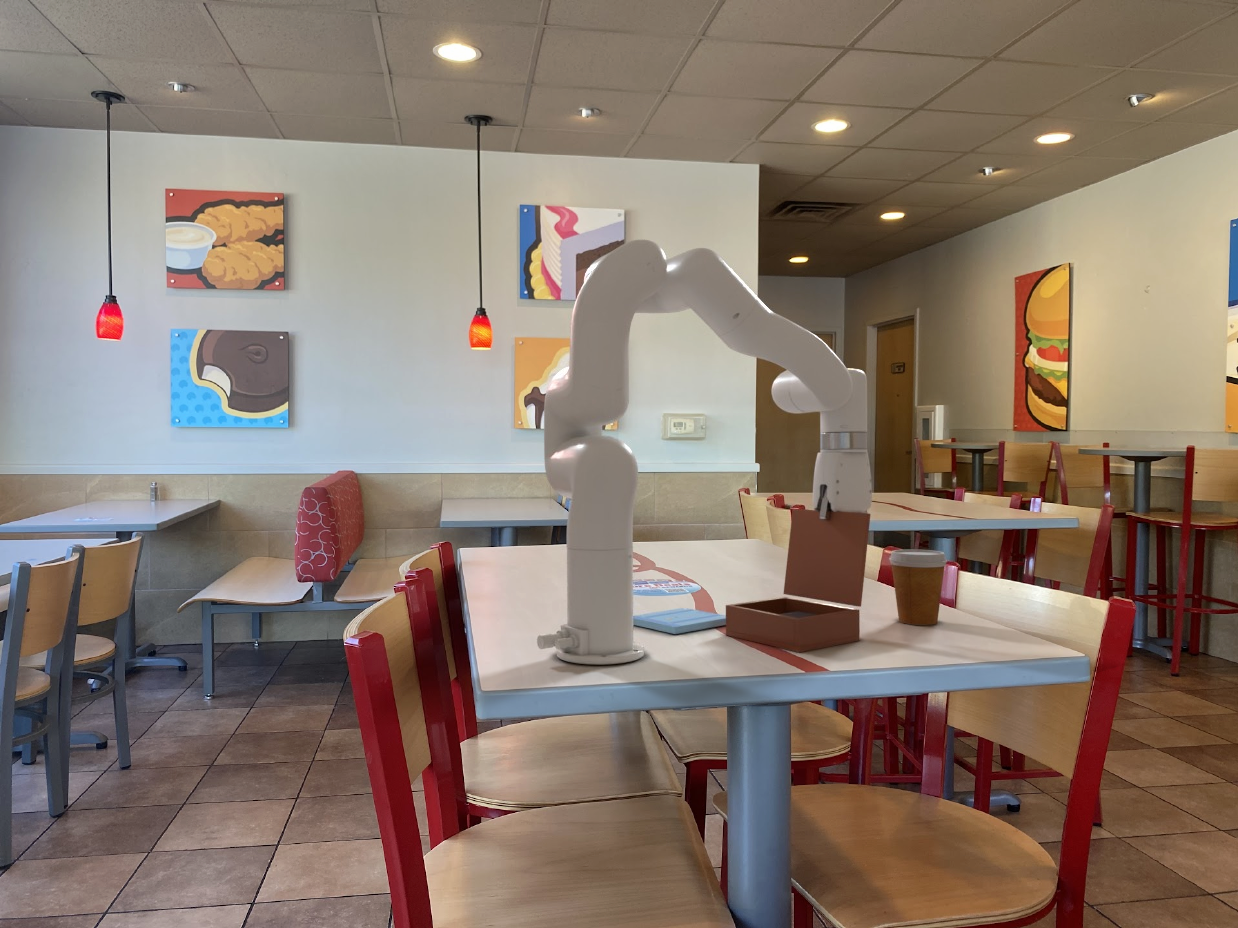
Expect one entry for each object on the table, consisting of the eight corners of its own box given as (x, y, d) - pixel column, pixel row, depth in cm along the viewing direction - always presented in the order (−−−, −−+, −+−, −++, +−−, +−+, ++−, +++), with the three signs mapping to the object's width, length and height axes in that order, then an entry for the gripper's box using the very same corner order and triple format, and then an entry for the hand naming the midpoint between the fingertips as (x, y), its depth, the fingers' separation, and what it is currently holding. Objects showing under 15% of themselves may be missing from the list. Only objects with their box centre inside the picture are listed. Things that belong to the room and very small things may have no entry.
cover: (867, 513, 134) (870, 513, 135) (792, 508, 147) (795, 509, 147) (857, 606, 133) (861, 606, 133) (783, 593, 146) (786, 594, 146)
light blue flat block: (684, 614, 156) (684, 607, 156) (732, 623, 147) (732, 616, 147) (627, 623, 148) (626, 616, 148) (675, 634, 138) (675, 626, 138)
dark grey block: (786, 638, 131) (786, 621, 131) (762, 633, 135) (762, 616, 135) (821, 631, 136) (821, 615, 136) (798, 627, 140) (797, 611, 140)
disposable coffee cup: (918, 615, 154) (918, 548, 154) (959, 624, 146) (959, 553, 146) (877, 619, 150) (876, 550, 150) (917, 629, 142) (917, 556, 142)
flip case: (799, 652, 125) (799, 619, 125) (725, 634, 138) (725, 605, 138) (859, 640, 133) (859, 609, 133) (785, 625, 146) (784, 596, 146)
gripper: (854, 444, 150) (855, 549, 150) (795, 444, 141) (796, 555, 142) (890, 443, 144) (891, 553, 144) (831, 443, 135) (831, 560, 136)
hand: (844, 554), depth 143 cm, fingers closed
